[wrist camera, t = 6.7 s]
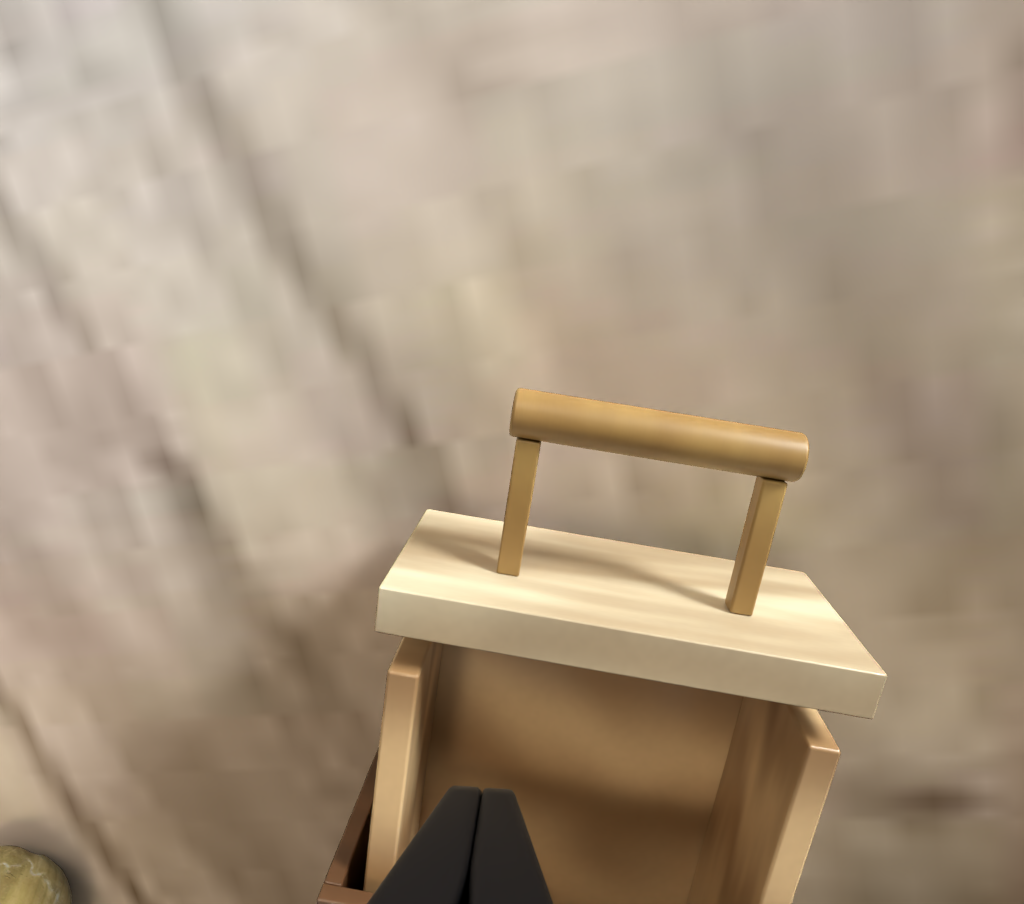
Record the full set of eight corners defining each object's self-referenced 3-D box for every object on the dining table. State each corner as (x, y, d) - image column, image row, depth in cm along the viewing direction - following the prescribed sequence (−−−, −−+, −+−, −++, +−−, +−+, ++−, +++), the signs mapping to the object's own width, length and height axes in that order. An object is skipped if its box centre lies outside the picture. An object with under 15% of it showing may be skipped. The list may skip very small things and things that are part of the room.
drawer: (445, 356, 20) (398, 385, 14) (848, 420, 19) (956, 474, 14) (384, 866, 24) (333, 1028, 19) (702, 927, 24) (740, 1111, 19)
